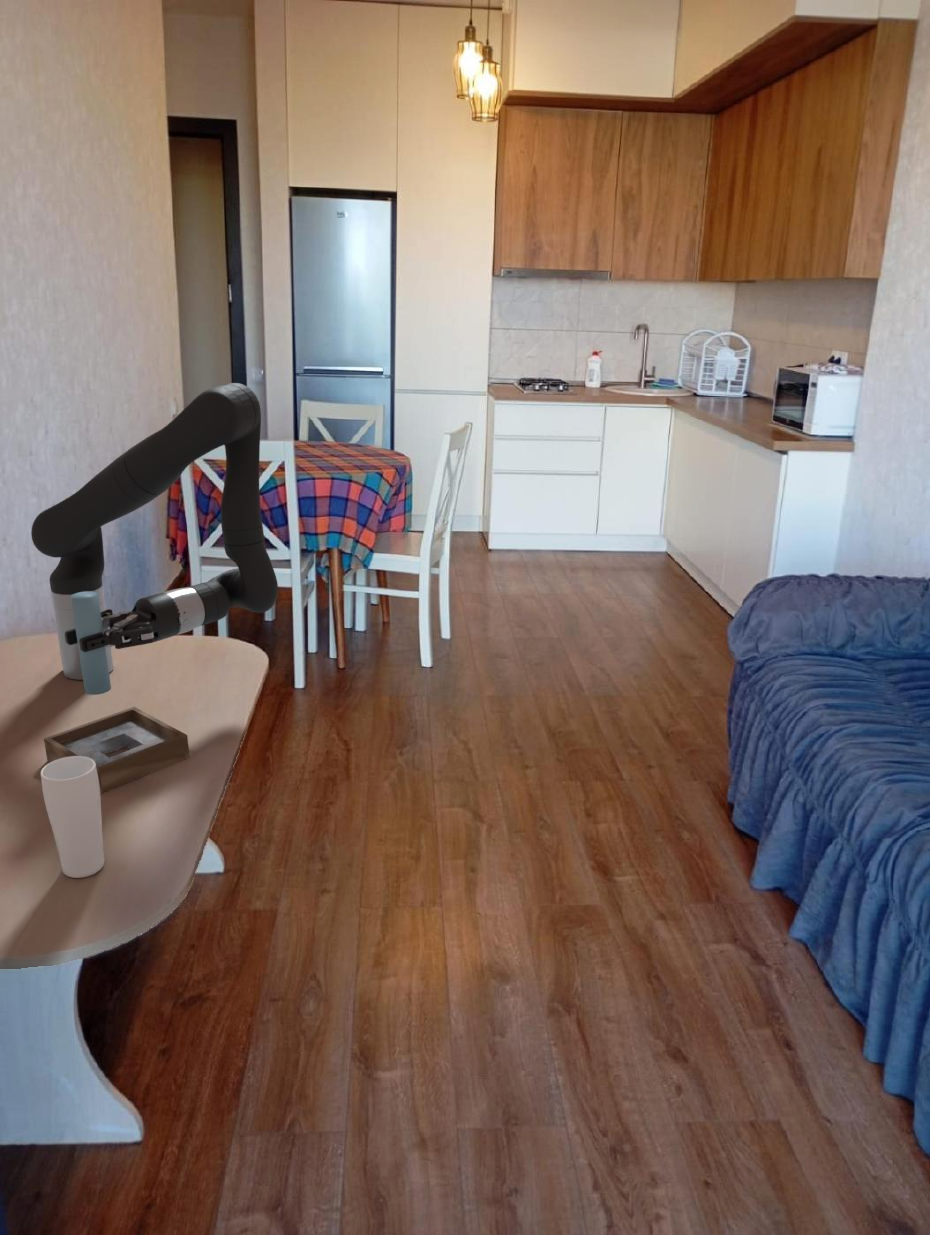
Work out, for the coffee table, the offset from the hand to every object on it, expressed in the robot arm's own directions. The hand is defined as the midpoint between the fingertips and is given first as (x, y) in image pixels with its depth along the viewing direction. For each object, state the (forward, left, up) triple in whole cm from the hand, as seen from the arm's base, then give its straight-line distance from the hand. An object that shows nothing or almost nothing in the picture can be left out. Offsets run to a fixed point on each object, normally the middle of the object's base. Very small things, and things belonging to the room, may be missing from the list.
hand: (74, 642), depth 156 cm
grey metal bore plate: (+4, +2, -20) cm, 20 cm away
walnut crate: (+4, +2, -20) cm, 20 cm away
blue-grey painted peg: (0, +3, -9) cm, 9 cm away
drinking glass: (+29, -17, -20) cm, 39 cm away
